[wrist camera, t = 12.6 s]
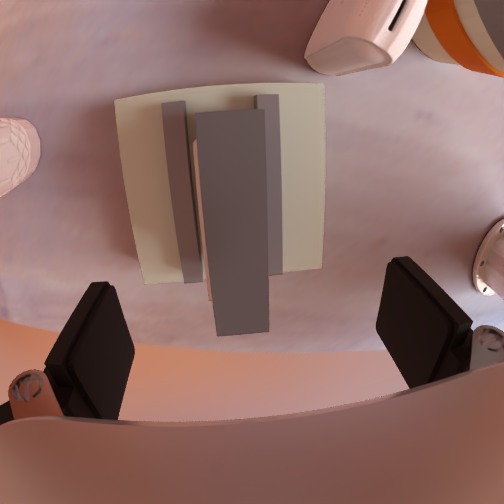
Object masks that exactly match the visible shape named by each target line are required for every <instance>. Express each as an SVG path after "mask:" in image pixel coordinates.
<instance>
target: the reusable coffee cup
mask: <svg viewBox="0 0 504 504" xmlns="http://www.w3.org/2000/svg"><path fill="white" fill-rule="evenodd" d="M412 40H413V41H414V43H415V44H416V45H417V47H418V48H419V49H420V50H421V51H422V52H423V53H424V54H426V55H427V56H428V57H430V58H431V59H433V60H435V61H438V62H441V63H449V64H456V65H462V66H463V67H464V68H467V69H469V70H471V71H476V72H481V73H486V74H490V75H495V76H499V77H503V78H504V0H428V1H427V4H426V7H425V10H424V14H423V16H422V18H421V21H420V23H419V25H418V27H417V29H416V31H415V33H414V35H413V37H412Z"/></svg>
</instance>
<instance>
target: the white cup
mask: <svg viewBox="0 0 504 504" xmlns="http://www.w3.org/2000/svg"><path fill="white" fill-rule="evenodd" d="M39 159H40V139H39V136H38V133H37V131H36V128H35V127H34V126H33V125H32V124H31V123H30V122H29V121H28V120H26V119H21V118H0V198H1V197H2V196H4V195H5V194H6V193H8V192H9V191H11V190H12V189H13V188H15V187H16V186H17V185H18V184H20V183H22V182H24V181H25V180H27V179H28V178H29V177H30V176H31V174H32V173H33V172H34V171H35V170H36V168H37V165H38V162H39Z"/></svg>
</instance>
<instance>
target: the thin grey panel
mask: <svg viewBox="0 0 504 504" xmlns="http://www.w3.org/2000/svg"><path fill="white" fill-rule="evenodd" d="M195 124H196V140H195V141H194V142H193V153H194V166H195V177H196V189H197V199H198V210H199V219H200V229H201V238H202V247H203V256H204V265H205V273H206V281H207V289H208V296H209V301H213V309H214V317H215V324H216V332H217V336H230V335H241V334H252V333H262V332H269V279H268V217H267V173H266V137H265V109H243V110H224V111H210V112H199V113H195Z"/></svg>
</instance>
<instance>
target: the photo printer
mask: <svg viewBox="0 0 504 504" xmlns="http://www.w3.org/2000/svg"><path fill="white" fill-rule="evenodd" d="M427 1H428V0H330V1H329V3H328V4H327V6H326V8H325V10H324V11H323V13H322V15H321V17H320V19H319V21H318V23H317V25H316V27H315V29H314V31H313V34H312V36H311V38H310V40H309V42H308V45H307V47H306V51H305V54H304V59H306V60H307V62H308V64H309V65H310V66H311V67H312V68H313V69H314V70H315V71H317V72H319V73H321V74H325V75H332V74H335V75H336V76H341V75H346V74H350V73H354V72H358V71H363V70H368V69H373V68H378V67H384V66H389V65H391V64H392V63H393V62H394V61H395V60H396V59H397V58H398V57H399V56H400V55H401V54H402V53H403V51H404V50H405V48H406V47H407V45H408V44H409V42H410V40H411V38H412V37H413V35H414V33H415V31H416V29H417V27H418V25H419V23H420V21H421V18H422V16H423V14H424V10H425V7H426V4H427Z"/></svg>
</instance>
